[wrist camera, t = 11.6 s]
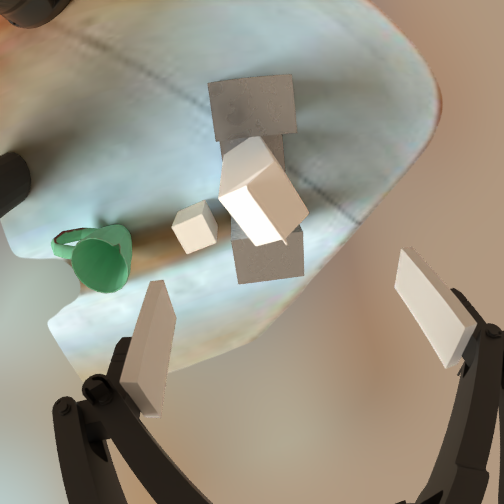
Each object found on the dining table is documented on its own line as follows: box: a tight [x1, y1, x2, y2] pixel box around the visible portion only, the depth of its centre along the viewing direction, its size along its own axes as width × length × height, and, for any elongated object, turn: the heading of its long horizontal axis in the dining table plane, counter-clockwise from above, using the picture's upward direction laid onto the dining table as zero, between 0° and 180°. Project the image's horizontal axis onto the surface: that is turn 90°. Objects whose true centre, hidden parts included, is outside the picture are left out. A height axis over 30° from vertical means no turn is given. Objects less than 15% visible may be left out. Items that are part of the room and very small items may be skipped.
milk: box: [218, 136, 309, 246], centre depth 34 cm, size 6×6×22 cm
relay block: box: [172, 200, 218, 254], centre depth 47 cm, size 5×5×6 cm
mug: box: [51, 224, 132, 293], centre depth 45 cm, size 15×10×10 cm
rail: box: [208, 74, 304, 284], centre depth 38 cm, size 24×9×16 cm, turn 6°
